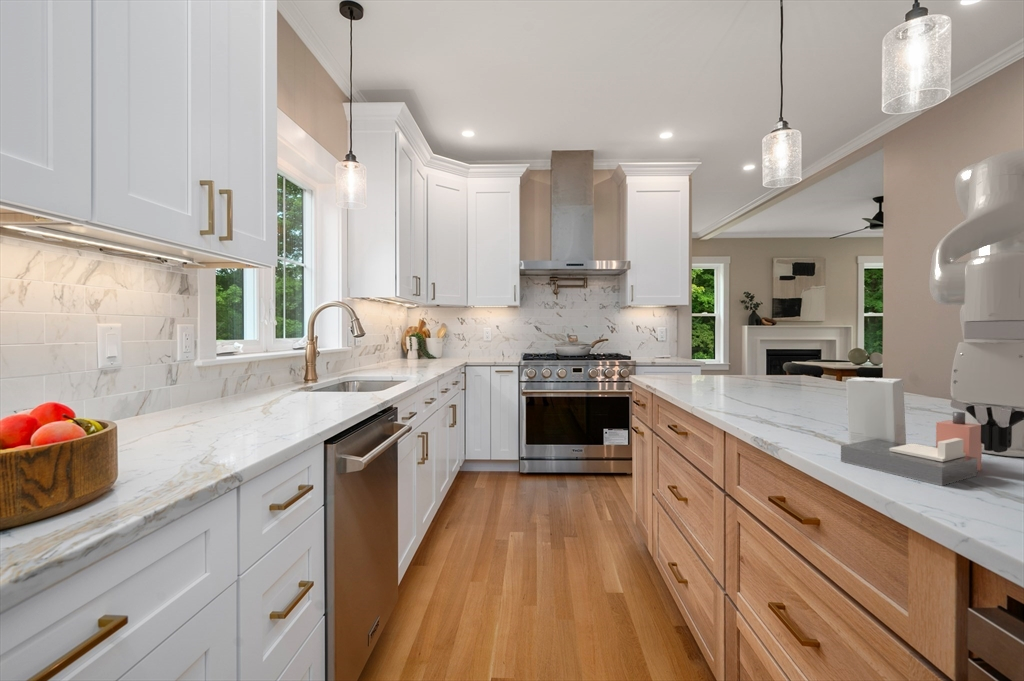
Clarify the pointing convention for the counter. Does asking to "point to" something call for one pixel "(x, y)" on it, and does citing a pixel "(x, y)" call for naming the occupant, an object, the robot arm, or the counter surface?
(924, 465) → the socket
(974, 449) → the plug
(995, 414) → the robot arm
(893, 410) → the skincare box
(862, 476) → the counter surface
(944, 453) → the cream stepped block
